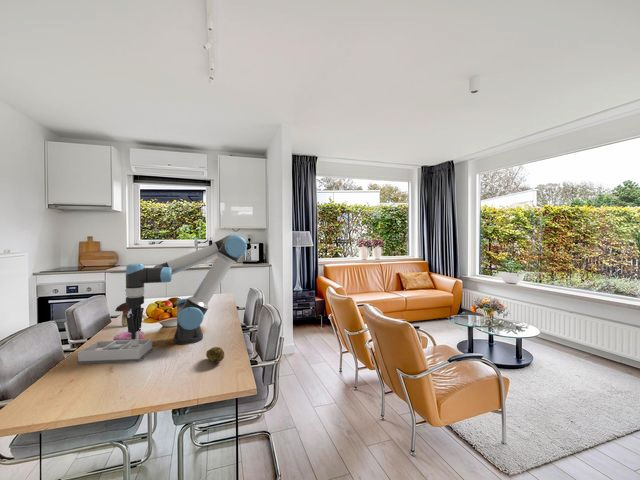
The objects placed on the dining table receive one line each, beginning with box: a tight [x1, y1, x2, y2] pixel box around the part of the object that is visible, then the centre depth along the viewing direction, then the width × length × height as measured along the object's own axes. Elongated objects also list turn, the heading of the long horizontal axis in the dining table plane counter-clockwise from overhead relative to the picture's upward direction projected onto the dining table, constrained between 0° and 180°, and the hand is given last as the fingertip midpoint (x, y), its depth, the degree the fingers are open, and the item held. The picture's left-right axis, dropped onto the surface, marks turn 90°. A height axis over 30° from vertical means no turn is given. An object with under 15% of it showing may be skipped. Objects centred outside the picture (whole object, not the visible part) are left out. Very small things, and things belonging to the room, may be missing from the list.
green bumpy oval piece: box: [205, 346, 225, 364], centre depth 136 cm, size 8×13×8 cm, turn 15°
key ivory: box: [127, 344, 143, 349], centre depth 143 cm, size 5×5×3 cm
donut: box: [112, 330, 145, 340], centre depth 161 cm, size 14×14×5 cm
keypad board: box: [77, 338, 154, 365], centre depth 142 cm, size 26×14×6 cm, turn 97°
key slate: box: [109, 344, 125, 350], centre depth 142 cm, size 5×5×3 cm
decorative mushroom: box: [114, 302, 129, 327], centre depth 190 cm, size 11×11×15 cm
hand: (134, 345), depth 143 cm, fingers closed
